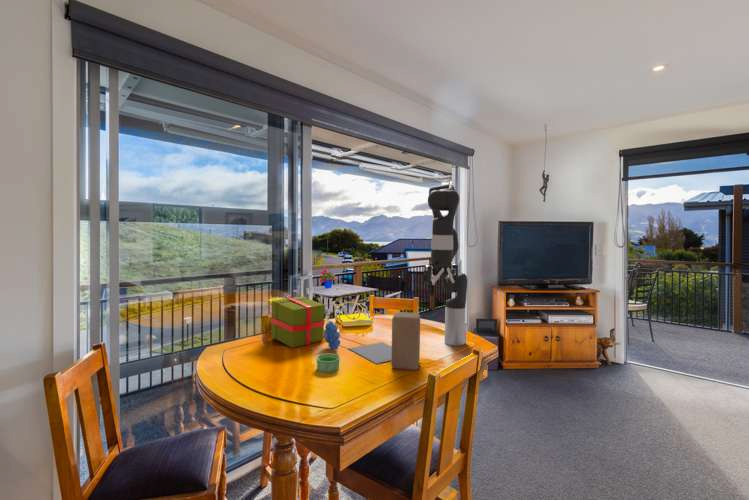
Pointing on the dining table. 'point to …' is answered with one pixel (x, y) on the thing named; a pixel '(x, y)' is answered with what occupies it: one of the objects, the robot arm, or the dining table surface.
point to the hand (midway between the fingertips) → (440, 294)
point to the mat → (375, 352)
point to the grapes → (332, 335)
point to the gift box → (297, 321)
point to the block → (405, 340)
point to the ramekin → (328, 362)
